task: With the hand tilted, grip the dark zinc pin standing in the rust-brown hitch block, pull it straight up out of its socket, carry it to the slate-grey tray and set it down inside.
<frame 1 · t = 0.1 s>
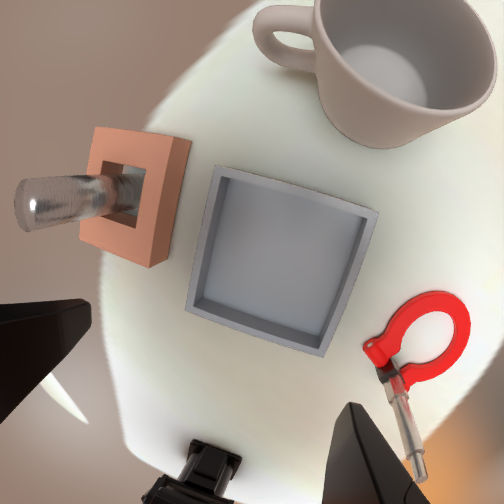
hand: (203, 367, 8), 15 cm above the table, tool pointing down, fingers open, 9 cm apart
tray: (278, 258, 22), on the table
tow hook: (422, 338, 21), on the table
pin: (92, 195, 18), in the hitch block
mug: (352, 89, 18), on the table
hitch block: (139, 191, 24), on the table
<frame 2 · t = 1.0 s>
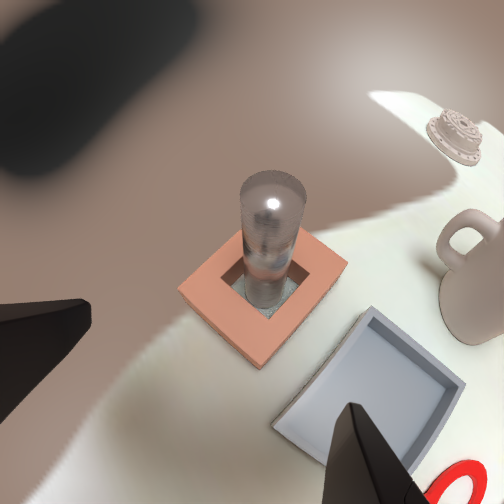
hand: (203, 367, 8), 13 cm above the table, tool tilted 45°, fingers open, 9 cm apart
tray: (372, 409, 19), on the table
tow hook: (447, 501, 13), on the table
mechanical component: (452, 144, 35), on the table
pin: (267, 256, 18), in the hitch block
mug: (457, 295, 23), on the table
hitch block: (264, 290, 24), on the table
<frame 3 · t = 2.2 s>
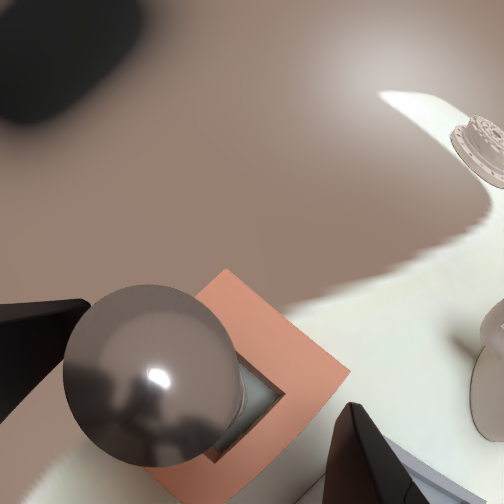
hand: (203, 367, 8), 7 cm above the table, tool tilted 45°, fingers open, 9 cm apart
mechanical component: (480, 160, 26), on the table
pin: (201, 393, 9), in the hitch block
mug: (491, 378, 14), on the table
hitch block: (218, 398, 14), on the table
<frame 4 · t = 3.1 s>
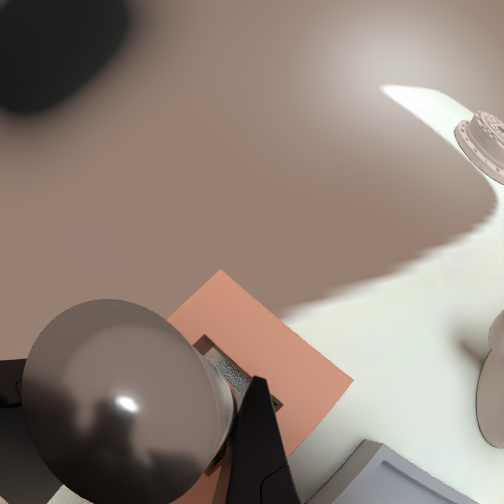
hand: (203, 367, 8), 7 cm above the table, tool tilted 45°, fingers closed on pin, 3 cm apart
mechanical component: (485, 156, 25), on the table
pin: (191, 407, 8), in the hitch block, touching gripper
mug: (498, 382, 13), on the table
hitch block: (213, 406, 13), on the table
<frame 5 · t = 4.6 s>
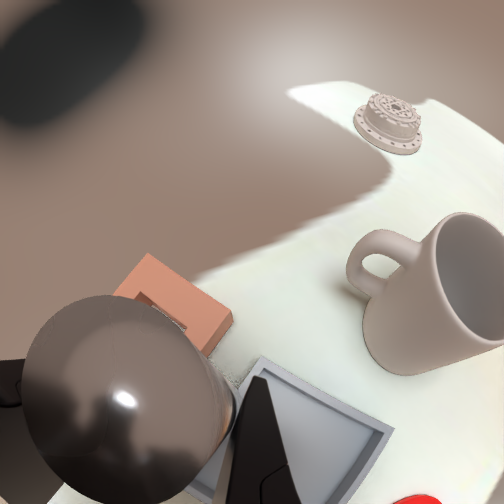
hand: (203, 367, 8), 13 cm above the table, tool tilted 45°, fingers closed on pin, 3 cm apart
tray: (282, 457, 17), on the table
mechanical component: (386, 133, 35), on the table
pin: (190, 405, 8), point 13 cm above the table, touching gripper
mug: (389, 319, 22), on the table
hitch block: (156, 342, 21), on the table
when the fingers open (8 cm above the table, at t = 6.1 s): pin drops 1 cm, resting on tray.
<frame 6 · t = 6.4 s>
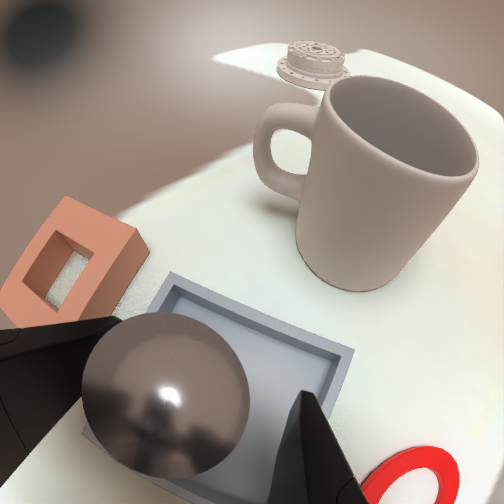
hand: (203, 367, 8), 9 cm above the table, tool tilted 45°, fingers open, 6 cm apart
tray: (217, 405, 15), on the table
mechanical component: (313, 76, 34), on the table
pin: (202, 404, 9), in the tray, point 7 cm above the table
mug: (328, 232, 21), on the table
hitch block: (75, 286, 19), on the table
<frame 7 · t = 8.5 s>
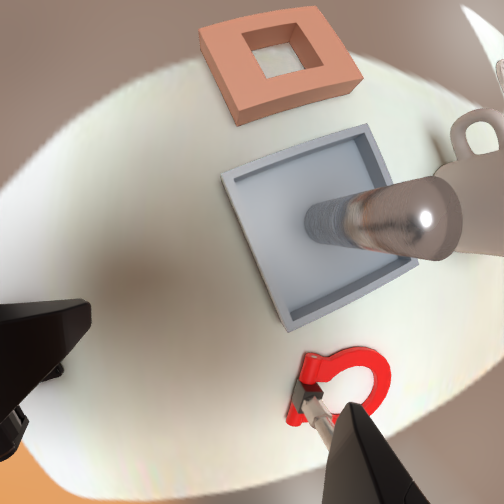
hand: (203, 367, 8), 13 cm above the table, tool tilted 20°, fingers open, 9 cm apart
tray: (321, 223, 21), on the table
tow hook: (341, 387, 23), on the table
pin: (362, 221, 15), in the tray, point 7 cm above the table
mug: (450, 190, 22), on the table
hitch block: (275, 67, 20), on the table
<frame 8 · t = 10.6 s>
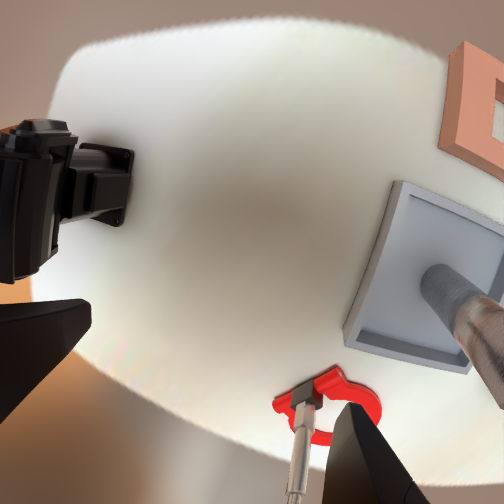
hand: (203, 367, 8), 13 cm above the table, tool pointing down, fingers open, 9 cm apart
tray: (435, 281, 18), on the table
tow hook: (333, 409, 23), on the table
pin: (473, 318, 12), in the tray, point 7 cm above the table
hitch block: (497, 126, 14), on the table
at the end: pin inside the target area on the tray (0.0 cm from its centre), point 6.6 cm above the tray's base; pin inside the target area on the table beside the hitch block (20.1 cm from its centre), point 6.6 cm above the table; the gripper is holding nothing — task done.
